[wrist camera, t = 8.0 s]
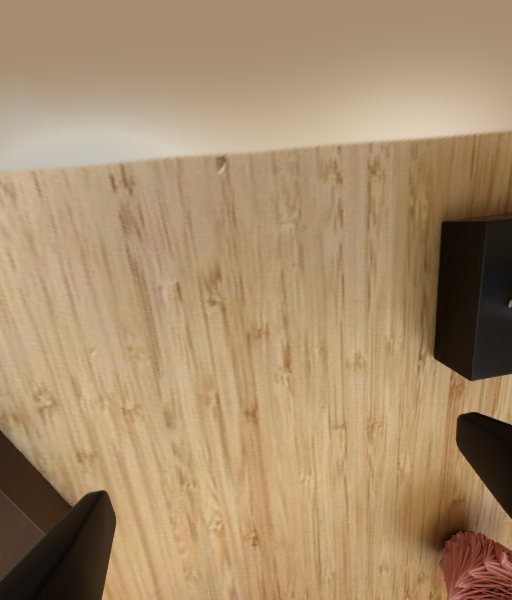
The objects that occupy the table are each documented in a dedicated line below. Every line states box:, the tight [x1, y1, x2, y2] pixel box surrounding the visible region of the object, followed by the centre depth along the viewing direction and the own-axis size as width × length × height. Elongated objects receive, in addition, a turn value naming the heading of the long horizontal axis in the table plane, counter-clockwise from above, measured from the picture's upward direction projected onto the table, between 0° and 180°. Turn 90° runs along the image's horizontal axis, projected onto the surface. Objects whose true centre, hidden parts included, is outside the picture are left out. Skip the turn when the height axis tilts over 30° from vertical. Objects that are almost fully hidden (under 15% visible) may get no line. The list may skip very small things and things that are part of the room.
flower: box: [439, 531, 512, 600], centre depth 22 cm, size 8×8×6 cm
